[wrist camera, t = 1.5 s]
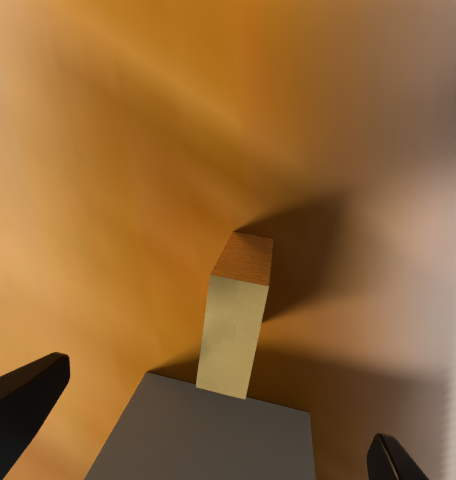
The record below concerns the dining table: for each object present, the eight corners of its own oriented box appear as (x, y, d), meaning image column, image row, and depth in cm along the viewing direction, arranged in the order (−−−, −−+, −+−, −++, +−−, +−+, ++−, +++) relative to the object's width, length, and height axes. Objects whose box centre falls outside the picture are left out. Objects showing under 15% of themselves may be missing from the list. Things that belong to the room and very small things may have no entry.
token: (220, 316, 17) (195, 387, 12) (233, 231, 15) (210, 274, 10) (256, 325, 17) (245, 399, 12) (273, 238, 15) (269, 286, 10)
